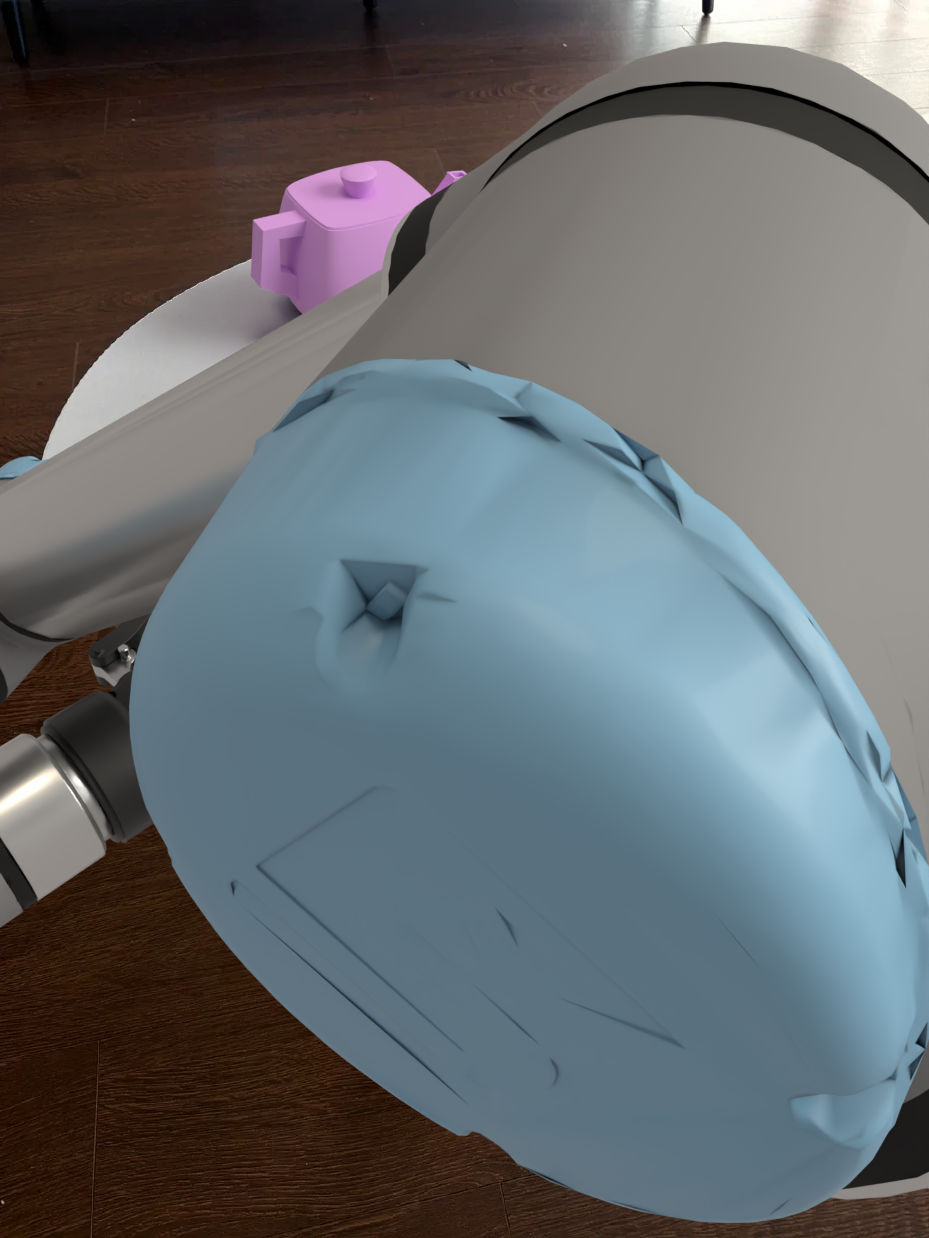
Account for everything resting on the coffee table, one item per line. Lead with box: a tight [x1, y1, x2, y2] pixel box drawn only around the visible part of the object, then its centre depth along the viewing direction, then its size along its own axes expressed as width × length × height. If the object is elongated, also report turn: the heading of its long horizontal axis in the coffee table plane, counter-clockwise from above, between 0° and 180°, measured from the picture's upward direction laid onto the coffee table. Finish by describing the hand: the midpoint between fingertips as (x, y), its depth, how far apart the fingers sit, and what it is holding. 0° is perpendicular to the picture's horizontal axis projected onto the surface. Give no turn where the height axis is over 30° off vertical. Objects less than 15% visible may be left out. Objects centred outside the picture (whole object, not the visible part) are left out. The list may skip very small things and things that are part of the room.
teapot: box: [250, 160, 468, 315], centre depth 91 cm, size 20×12×13 cm, turn 122°
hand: (390, 587), depth 66 cm, fingers open, 13 cm apart
